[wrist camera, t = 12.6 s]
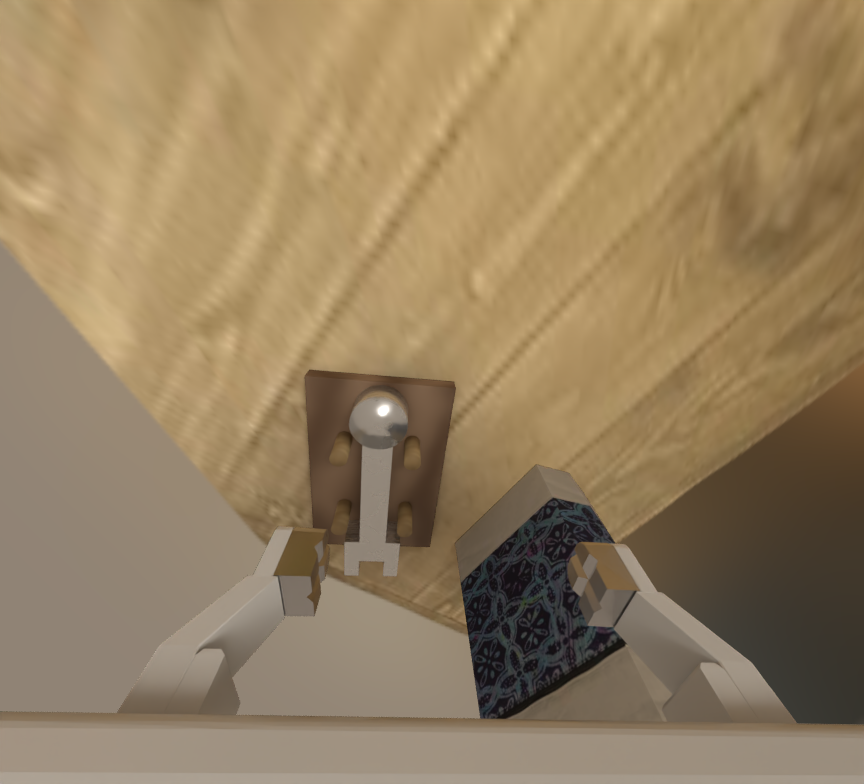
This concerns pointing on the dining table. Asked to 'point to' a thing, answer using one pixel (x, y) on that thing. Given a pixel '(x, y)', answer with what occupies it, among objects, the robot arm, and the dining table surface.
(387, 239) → the dining table surface
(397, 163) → the dining table surface
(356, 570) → the ball-tipped notched rod
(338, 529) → the peg rack
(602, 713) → the bag
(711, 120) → the dining table surface
